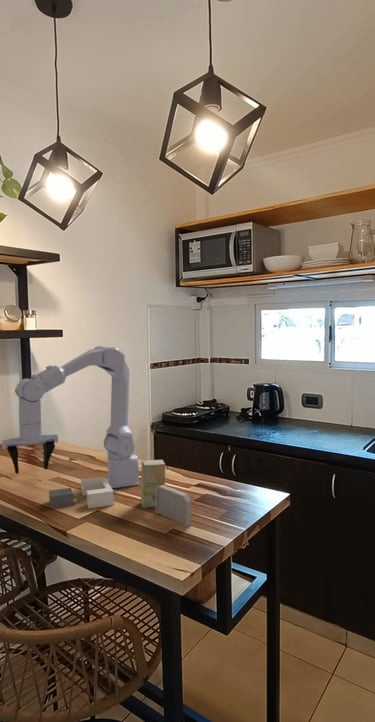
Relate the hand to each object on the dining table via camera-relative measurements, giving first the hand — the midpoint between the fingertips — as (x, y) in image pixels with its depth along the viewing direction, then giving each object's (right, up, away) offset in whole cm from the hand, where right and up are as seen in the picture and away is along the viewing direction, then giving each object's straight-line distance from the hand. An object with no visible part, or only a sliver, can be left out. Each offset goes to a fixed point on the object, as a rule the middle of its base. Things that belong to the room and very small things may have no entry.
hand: (31, 470), depth 125 cm
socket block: (+17, -10, +6) cm, 20 cm away
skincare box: (+34, -10, +2) cm, 35 cm away
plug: (+8, -10, +2) cm, 13 cm away
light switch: (+40, -11, -8) cm, 42 cm away
